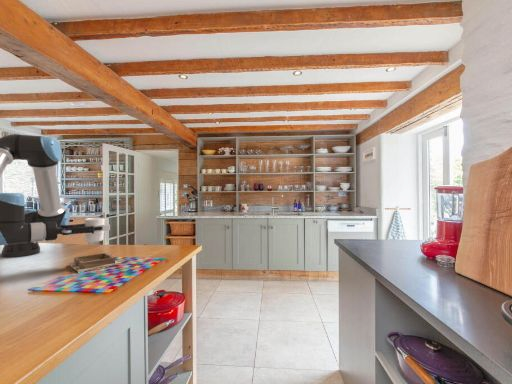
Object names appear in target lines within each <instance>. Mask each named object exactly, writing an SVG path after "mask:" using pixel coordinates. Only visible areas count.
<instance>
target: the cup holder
mask: <svg viewBox="0 0 512 384" xmlns="http://www.w3.org/2000/svg"><path fill="white" fill-rule="evenodd" d="M73 260H74V261H73V262H70V263H69V264H68V265H69V266H70V267H71V268H72V269H73V270H74V269H75V270H76V271H77V272H81V271H86V270H93V269H98V268H103V267H107V266H112V265H118V264H120V265H121V262H118V261H117V260H116V257H115V256H113V255H111V254H109V253H107V252H104V253H96V254H89V255H83V256H75V257H74V259H73ZM75 270H74V271H75ZM98 270H99V269H98ZM76 271H75V272H76ZM93 271H94V270H93ZM77 272H76V273H77Z"/></svg>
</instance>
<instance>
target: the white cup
mask: <svg viewBox="0 0 512 384" xmlns="http://www.w3.org/2000/svg"><path fill="white" fill-rule="evenodd" d="M105 223H106V217H88V218H85V219H84V224H85V226H94V225H106V224H105ZM104 234H105V231H98V232H94V234H92V233H84V235H85V241H86V242H87V243H93V242H95V243H96V242H101V241H102V242H103V241H104V236H105V235H104Z"/></svg>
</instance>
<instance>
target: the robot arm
mask: <svg viewBox="0 0 512 384" xmlns="http://www.w3.org/2000/svg"><path fill="white" fill-rule="evenodd" d="M60 145H61V144H60V143H59V141H58V140H57V139H56V138H55V137H52V136H45V135H28V134H19V133H17V134H9V135H8V134H7V135H4V136H1V137H0V177H1V176H2V174H3V172H4V171H5V169H6V168H7V166H8V165H10V164H12V163H13V162H14V161H16V160H20V161H27V164H28V166H29V167H31V168H32V169H33V175H34V181H35V184H36V185H35V186H36V190H37V195H38V200H39V207H40V208H39V209H38V210H37V209H36V208H31V209H26V208H25V207H26V203H25V195H24V193H21V192H0V246H3V248H2V249H1V257H3V258H18V257H25V256H32V255H36V254H38V253H40V252H41V247H40V244H39V242H43V241H46V242H47V241H56V240H57V239H58V235H62V236H68V235H79V234H85V233H92V234H94V232H98V231H104V232H106V231H110V230H111V224H105V225H94V226H85V223H77V224H76V223H75V224H70V218H71V212H70V210H69V211H68V210H66V208H65V206H63V205H62V204H61V203H62V202H61V197H60V196H61V195H60V190H59V185H58V178H57V172H56V171H57V170H56V166H57V165H58V164H59V162H60V161H61V160H62V157H63V155H62V148H61V146H60Z"/></svg>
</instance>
